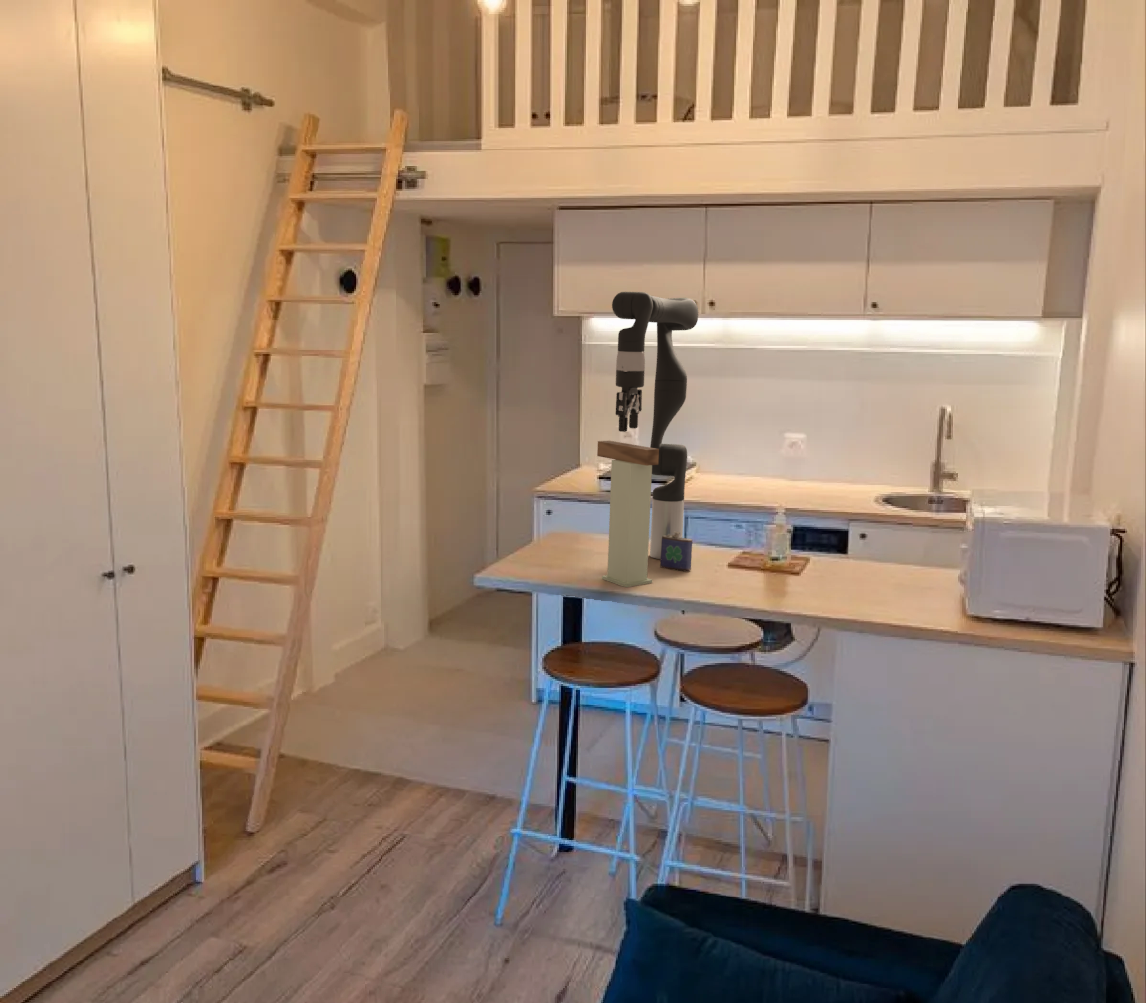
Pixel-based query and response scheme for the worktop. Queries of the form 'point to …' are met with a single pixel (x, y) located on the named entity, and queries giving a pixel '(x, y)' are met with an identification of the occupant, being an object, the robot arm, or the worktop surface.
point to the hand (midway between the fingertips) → (628, 429)
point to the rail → (628, 452)
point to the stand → (629, 524)
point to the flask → (676, 552)
